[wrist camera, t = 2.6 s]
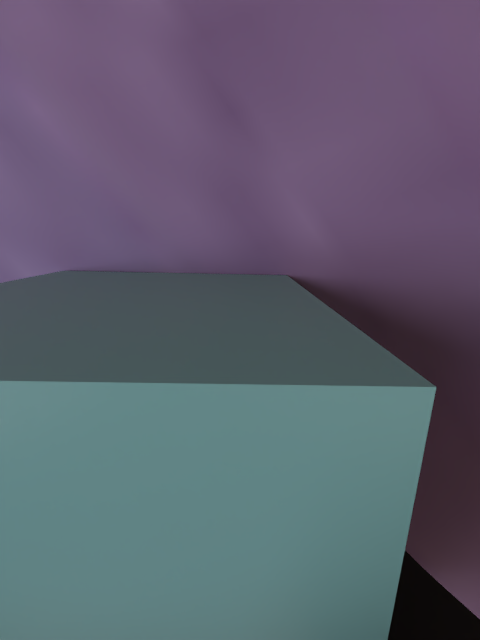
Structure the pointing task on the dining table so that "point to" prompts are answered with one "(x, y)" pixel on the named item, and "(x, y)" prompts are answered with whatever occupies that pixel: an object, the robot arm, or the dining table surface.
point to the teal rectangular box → (199, 461)
